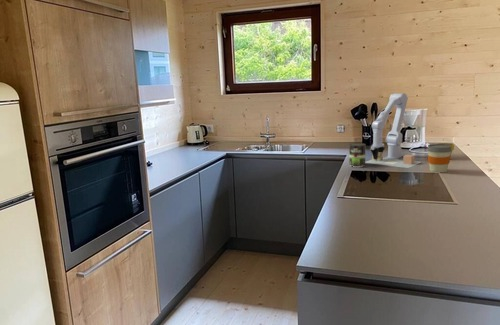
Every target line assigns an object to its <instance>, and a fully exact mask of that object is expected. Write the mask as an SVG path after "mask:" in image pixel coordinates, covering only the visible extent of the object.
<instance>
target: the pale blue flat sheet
mask: <svg viewBox="0 0 500 325" xmlns="http://www.w3.org/2000/svg"><path fill="white" fill-rule="evenodd" d="M420 163H422V161H418V160H417V161H416V160H415V162H414V163H413V164H403V159H399V158H387V157H383V160H381V161H374V160H372V159H369V160H365V164H374V165H381V166H388V167H396V168H397V167H398V168H405V169H409V168H411V167H414V166H416V165H418V164H420Z"/></svg>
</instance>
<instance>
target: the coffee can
mask: <svg viewBox="0 0 500 325" xmlns="http://www.w3.org/2000/svg"><path fill="white" fill-rule="evenodd" d="M348 145H349V147H348V151H349V154H348V155H349V156H348V158H349V159H348V160H349V162H348V164H349V165H350V166H349V165H348V166H349V167H351V166H353V167H352V168H363V166H364V167H365V166H366V163H365V162H366V146H367V144H366V143H362V142H355V143H354V142H352V143H349V144H348Z"/></svg>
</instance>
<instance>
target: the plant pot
mask: <svg viewBox="0 0 500 325" xmlns="http://www.w3.org/2000/svg"><path fill="white" fill-rule="evenodd" d="M438 144H446V145H450V146H451V150H452V151H451V153H450V156H452V153H453V150H454V149H455V144H454V143H449V142H444V143H443V142H442V143H441V142H439V143H438Z"/></svg>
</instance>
